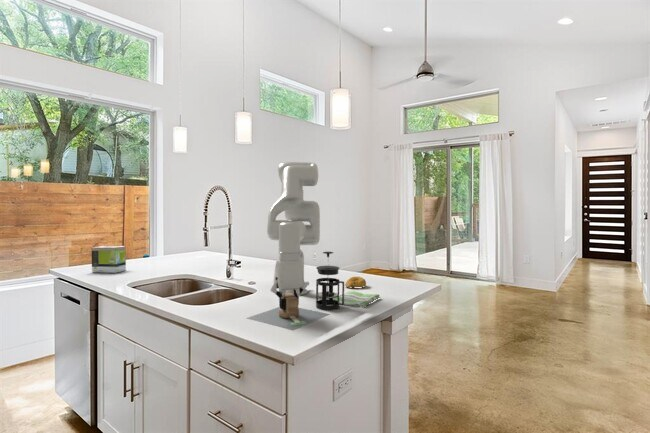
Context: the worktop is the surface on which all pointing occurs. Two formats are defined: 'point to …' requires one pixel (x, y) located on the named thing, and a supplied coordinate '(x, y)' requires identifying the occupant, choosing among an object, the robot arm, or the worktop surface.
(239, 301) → the worktop surface
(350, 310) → the worktop surface
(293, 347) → the worktop surface
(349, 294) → the dish towel
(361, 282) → the bagel
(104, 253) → the tea box
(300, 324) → the dial plate
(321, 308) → the french press
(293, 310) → the knob
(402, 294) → the worktop surface
